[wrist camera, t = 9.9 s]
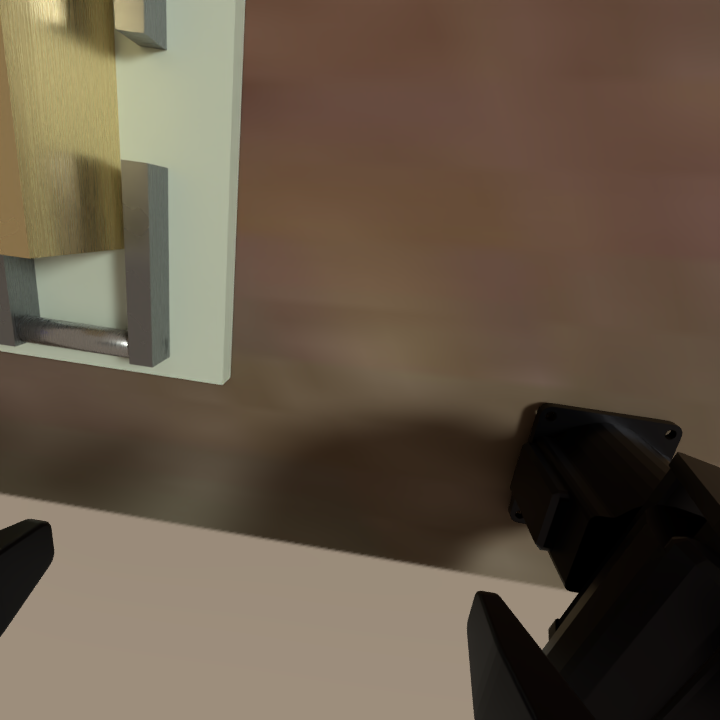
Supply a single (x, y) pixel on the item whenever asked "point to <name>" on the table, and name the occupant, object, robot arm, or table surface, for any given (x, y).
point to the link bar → (59, 129)
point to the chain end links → (141, 242)
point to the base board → (170, 194)
